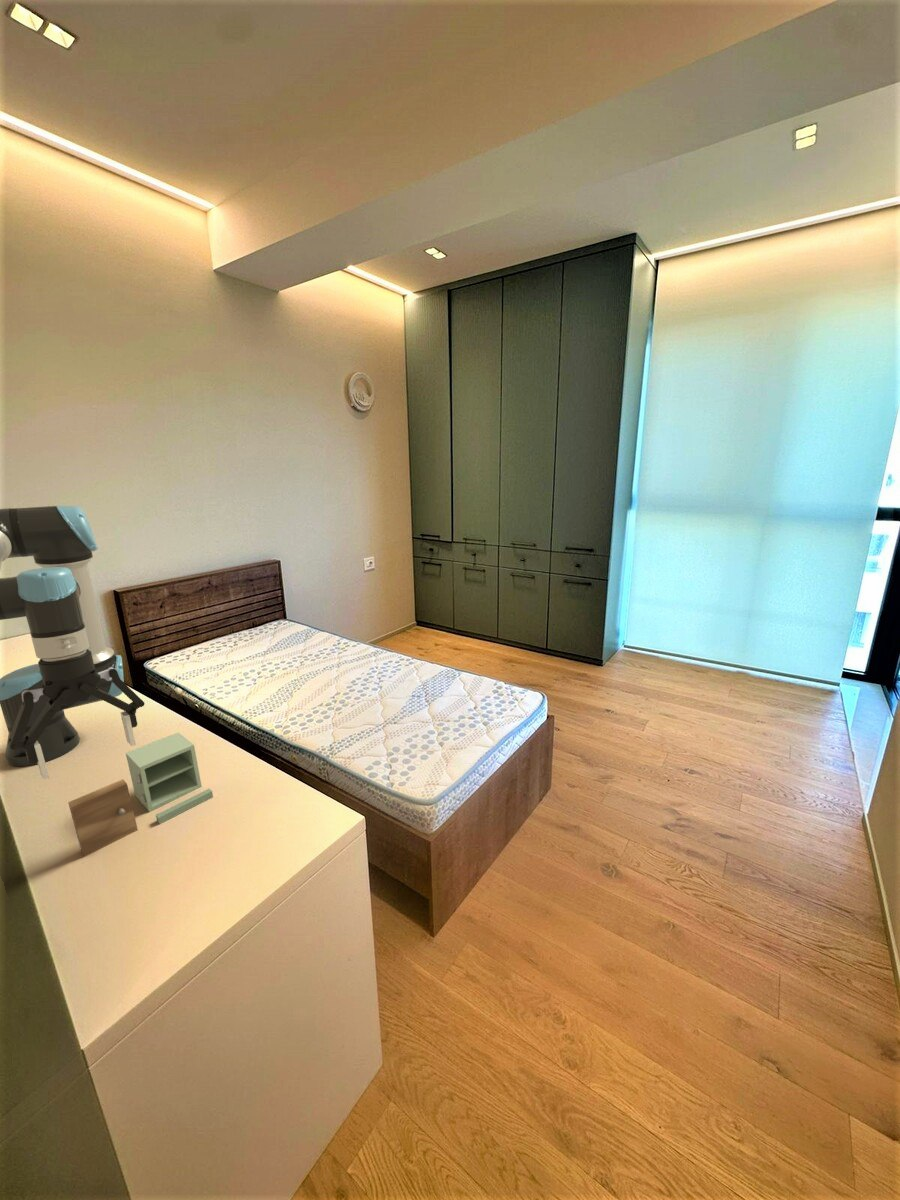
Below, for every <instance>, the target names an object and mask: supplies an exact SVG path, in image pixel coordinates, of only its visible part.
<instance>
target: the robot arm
mask: <svg viewBox="0 0 900 1200" xmlns="http://www.w3.org/2000/svg"><path fill="white" fill-rule="evenodd" d="M91 527H92V526H91V525H90V522H89V520H88V517H87V515H86V514H85V512H84V510H83V509H82V508H81V507H79V506H76V505H48V506H32V507H16V508H14V507H13V508H7V507H6V508H0V570H1V568H2V564H3V562H4V561H5V560H6V559H10V558H11V559H14V558H21V557H23V558H25V557H33V560H34V564H36V565H37V566H39V567H40V568H34V569H27V570H24V571H21V572H19V573H18V574H17V575H16V576H11V577H0V621H2V620H3V621H4V620H10V619H12V620H13V619H18V618H25V617H26V622H27V625H28V627H29V631H30V637H31V641H32V645H33V649H34V653H35V657H36V658H38V659H39V660H38V661H37V663H35V664H31V665H27V666H24V667H21V668H18V669H15V670H13V671H11V672H9V673H6V674H5V675H2V677H1V678H0V708H1V712H2V715H3V718H4V722H5V725H6V729H7V732H8V736H7V741H6V748H5V758H6V762H7V764H8V765H9V764H10V766H12V765H13V767H27V766H33V765H38V769H39V773H40V775H41V777H42V779H43V780H44V781H45V780H47V779H49V778H50V776H49V775H50V774H49V771H48V767H47V765H46V762H48V761H52V760H55V759H57V758H59V757H61V756H63V755H65V754H67V753H69V752H70V751H72V750H73V749H74V748H76V747H77V745H79V743H80V742H81V741H80V740H81V739H80V736H79V732H78V730H77V729H75V727H74V726H73V724H72V723H71V721H69V720H68V718H67V717H66V715H65V710H68V709H71V708H76V707H79V706H80V707H82V706H85V705H90V704H93V703H98V702H101V701H104V702H105V703H108V704H109V705H112V706H114V707H116V708H117V709H120V710H121V711H122V712H120V716H121V720H122V725H123V729H124V735H125V738H126V739H125V740H126V742H127V743H128V744H129V745H130V746H131V747H133V746H135V745H137V744H136V739H135V735H134V731H133V729H134V728H136V727H137V726H138V720H137V719H138V718H137V715H136V713H137V710H139V708H142V707H144V706H145V701H144V700H142V698H140V697H139V696H138V695H137V693H135V691H134V690H132V688H130V687H129V686H128V685H127V684H126V683H125V680H124V667H123V657H122V655H121V654H115V651H114V650H113V648H111V647H108V646H107V645H106V641H105V636H104V632H103V628H102V623H101V619H100V614H99V611H98V610H99V609H98V605H97V601H96V597H95V593H94V588H93V584H92V579H91V575H90V572H89V571H90V570H89V566H88V564H89V562H91V561H92V559H93V558H94V557H93V552H95V551H98V548H99V547H98V544H97V542H96V538H95V537H94V533H93V531H92V528H91ZM122 694H124V695H125V696H126V697H127V698H128V699H129V700H130V701H131V702H130V703H127V702H125V701H124V700H121V699H120V698H118V697H119V696H121V695H122Z"/></svg>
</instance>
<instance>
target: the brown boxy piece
mask: <svg viewBox="0 0 900 1200" xmlns="http://www.w3.org/2000/svg"><path fill="white" fill-rule="evenodd" d="M130 794H131V793H130V791H129V785H128V783H127V782H126V781H125V779H124V778H123V779H120V780H118V781H115V782H113V783H111V784H108V785H105V786H104V787H100V788H99V789H97V790H93V791H92V792H89V793H87V794H85V795H82V796H80V797H78V798H76V799H75V798H74V799H73V800H70V801H68V802H67V804H68V807H69V811H70V814H71V818H72V822H73V826H74V829H75V833H76V837H77V840H78V841H77V842H78V845H79V847H80V851H81V853H82V855H83V857H88V856H89V855H91V854H93V853H95V852H97V851H99V850H101V849H103V848H105V847H107V846H108V845H111V844H113V843H115V842H117V841H119V840H122V839H124V838H125V837H127V836H129V835H131V834H133V833H135V832H137V831H139V829H138V825H137V820H136V817H135V816H136V815H135V811H134V808H133V803H132V799H131V796H130Z"/></svg>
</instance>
